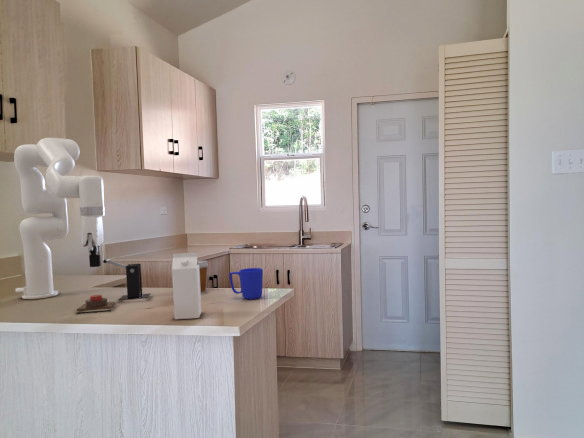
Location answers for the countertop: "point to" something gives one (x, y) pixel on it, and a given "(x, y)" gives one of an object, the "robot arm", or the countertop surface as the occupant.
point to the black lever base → (134, 283)
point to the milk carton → (186, 286)
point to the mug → (249, 282)
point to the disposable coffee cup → (203, 274)
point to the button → (95, 297)
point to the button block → (95, 306)
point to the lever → (114, 263)
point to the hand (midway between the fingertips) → (95, 266)
